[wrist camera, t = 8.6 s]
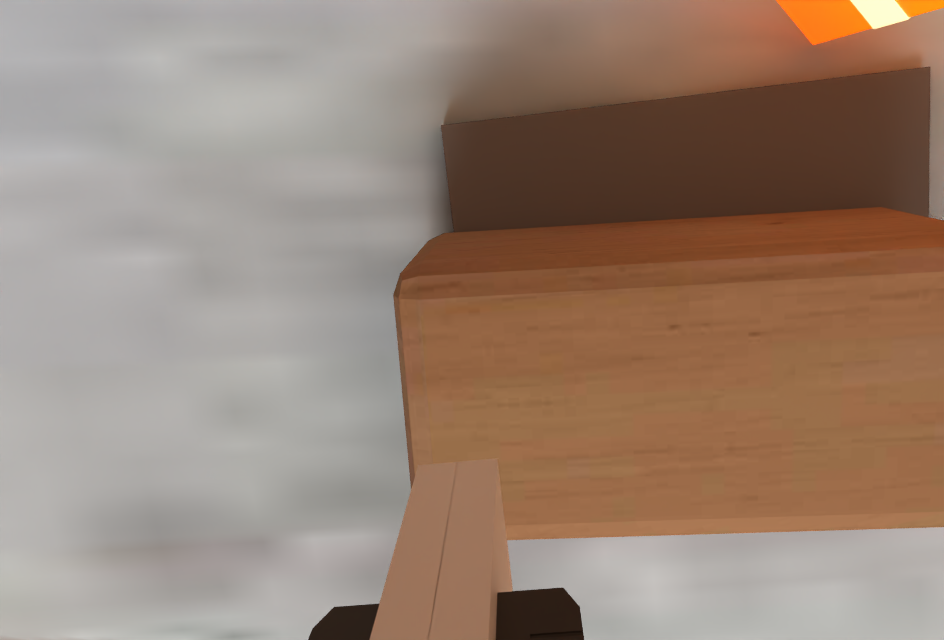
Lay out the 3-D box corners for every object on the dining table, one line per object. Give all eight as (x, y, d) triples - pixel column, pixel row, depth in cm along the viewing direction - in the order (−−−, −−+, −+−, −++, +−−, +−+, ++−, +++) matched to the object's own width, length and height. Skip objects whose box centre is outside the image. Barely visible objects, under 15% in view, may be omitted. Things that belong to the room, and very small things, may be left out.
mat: (442, 125, 35) (440, 125, 34) (920, 68, 33) (930, 66, 33) (483, 466, 39) (482, 473, 38) (917, 430, 37) (925, 437, 36)
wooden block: (423, 231, 35) (895, 203, 34) (441, 444, 38) (884, 427, 36) (385, 270, 26) (1045, 233, 24) (412, 554, 28) (1016, 537, 26)
